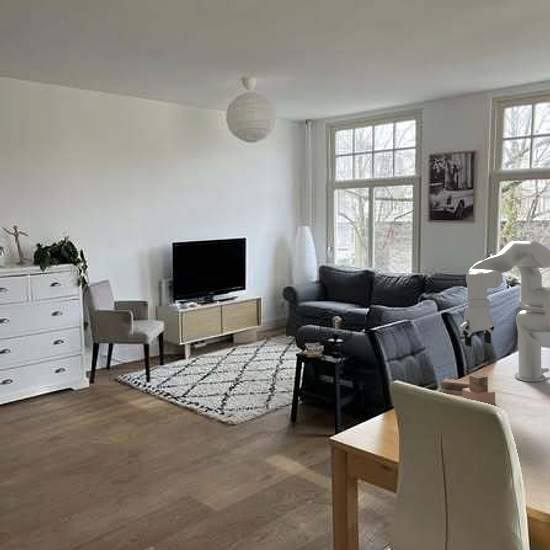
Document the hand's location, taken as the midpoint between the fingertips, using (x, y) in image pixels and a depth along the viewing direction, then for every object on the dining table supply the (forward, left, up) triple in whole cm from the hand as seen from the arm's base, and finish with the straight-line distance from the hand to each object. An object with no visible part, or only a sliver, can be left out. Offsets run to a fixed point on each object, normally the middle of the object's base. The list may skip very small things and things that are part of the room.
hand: (478, 344), depth 222 cm
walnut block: (0, 0, -19) cm, 19 cm away
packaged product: (-4, -14, -25) cm, 29 cm away
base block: (0, 0, -24) cm, 24 cm away
